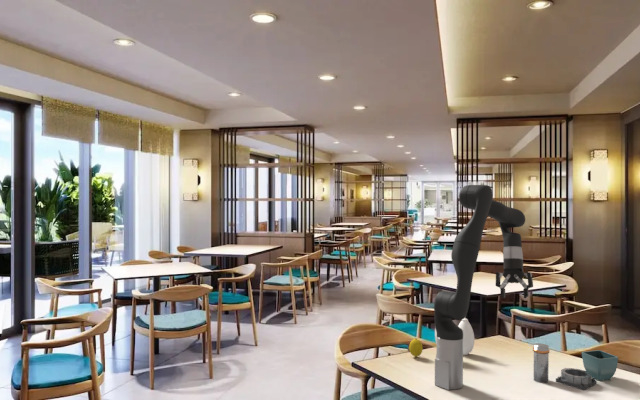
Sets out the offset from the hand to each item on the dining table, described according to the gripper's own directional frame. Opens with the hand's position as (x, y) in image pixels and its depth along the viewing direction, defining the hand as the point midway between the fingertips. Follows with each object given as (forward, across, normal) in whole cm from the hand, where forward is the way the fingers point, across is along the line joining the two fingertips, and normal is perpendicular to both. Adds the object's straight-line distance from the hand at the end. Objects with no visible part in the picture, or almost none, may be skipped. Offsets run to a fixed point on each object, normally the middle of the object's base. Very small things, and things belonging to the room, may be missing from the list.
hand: (514, 298), depth 199 cm
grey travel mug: (+30, +11, -8) cm, 33 cm away
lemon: (+26, -38, -13) cm, 48 cm away
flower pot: (+29, +28, +8) cm, 41 cm away
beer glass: (+26, -28, -8) cm, 39 cm away
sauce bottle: (+25, -23, +3) cm, 34 cm away
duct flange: (+30, +21, -3) cm, 37 cm away
